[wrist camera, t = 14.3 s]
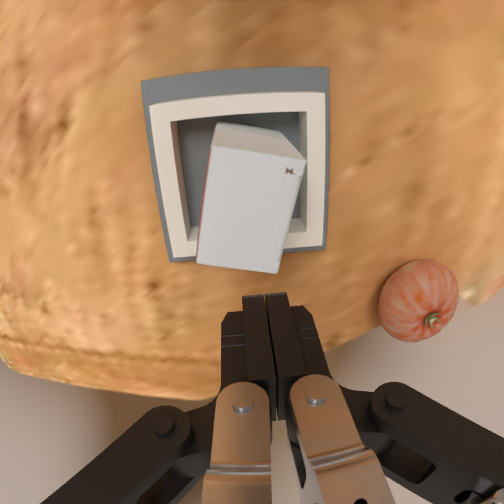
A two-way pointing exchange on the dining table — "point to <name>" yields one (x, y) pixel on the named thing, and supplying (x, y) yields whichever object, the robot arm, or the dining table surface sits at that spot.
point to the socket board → (241, 112)
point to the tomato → (418, 300)
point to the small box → (248, 198)
